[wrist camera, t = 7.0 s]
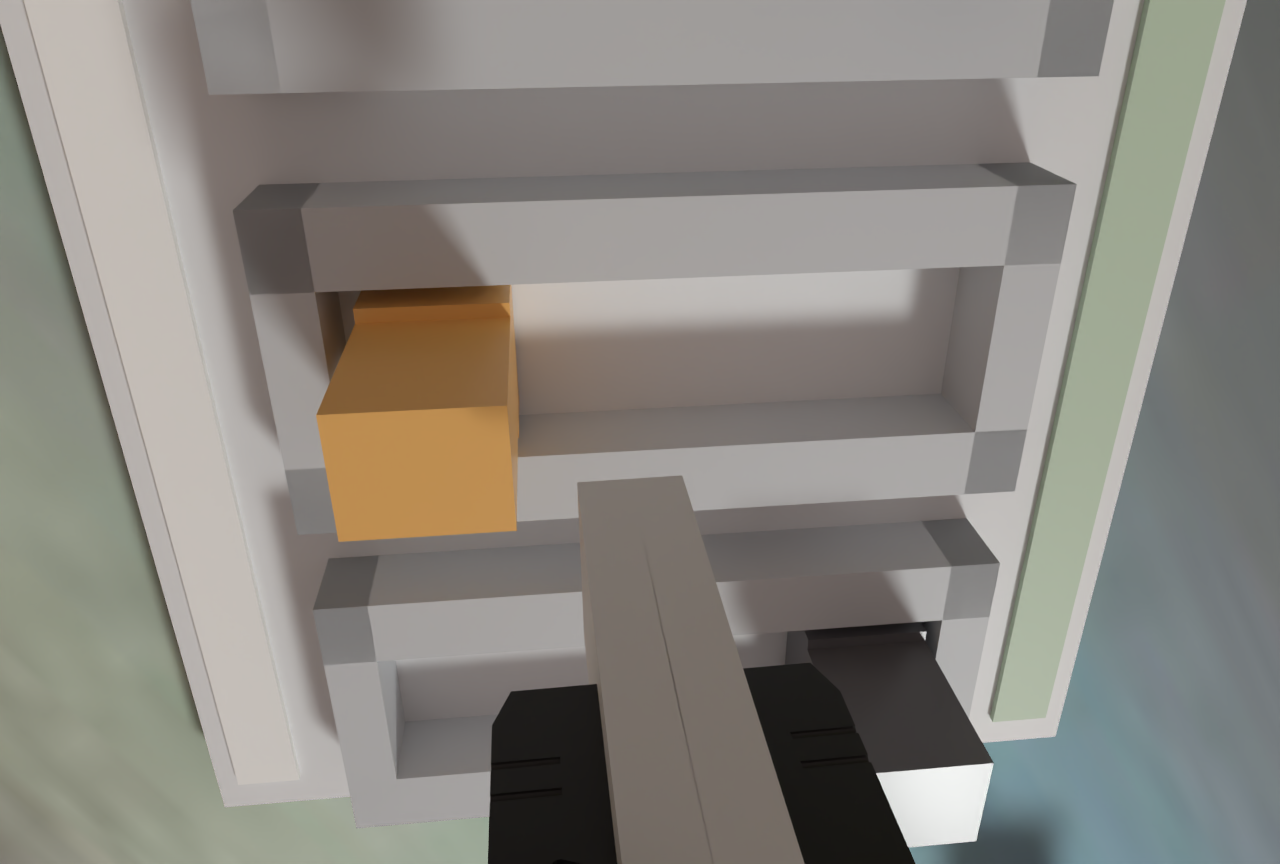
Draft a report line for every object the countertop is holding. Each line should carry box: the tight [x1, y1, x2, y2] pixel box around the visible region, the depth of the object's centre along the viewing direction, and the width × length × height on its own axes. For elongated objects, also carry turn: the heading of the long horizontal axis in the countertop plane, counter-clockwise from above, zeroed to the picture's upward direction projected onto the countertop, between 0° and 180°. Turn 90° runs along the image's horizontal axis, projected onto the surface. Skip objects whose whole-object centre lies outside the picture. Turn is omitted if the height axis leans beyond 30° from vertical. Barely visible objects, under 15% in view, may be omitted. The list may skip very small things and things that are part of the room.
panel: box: [0, 0, 1247, 828], centre depth 21 cm, size 24×27×4 cm
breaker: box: [785, 622, 994, 848], centre depth 24 cm, size 3×3×6 cm
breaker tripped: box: [316, 285, 519, 542], centre depth 19 cm, size 3×3×6 cm
